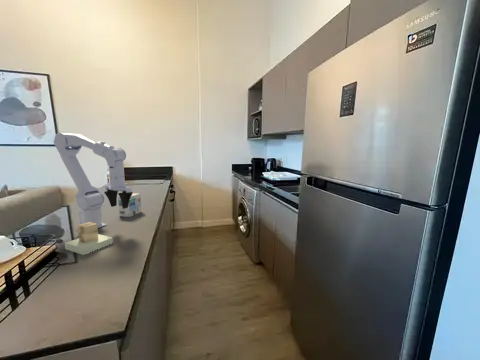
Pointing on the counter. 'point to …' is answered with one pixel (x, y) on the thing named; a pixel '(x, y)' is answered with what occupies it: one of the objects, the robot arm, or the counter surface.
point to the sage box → (88, 244)
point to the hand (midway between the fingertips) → (119, 207)
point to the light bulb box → (131, 206)
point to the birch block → (88, 232)
